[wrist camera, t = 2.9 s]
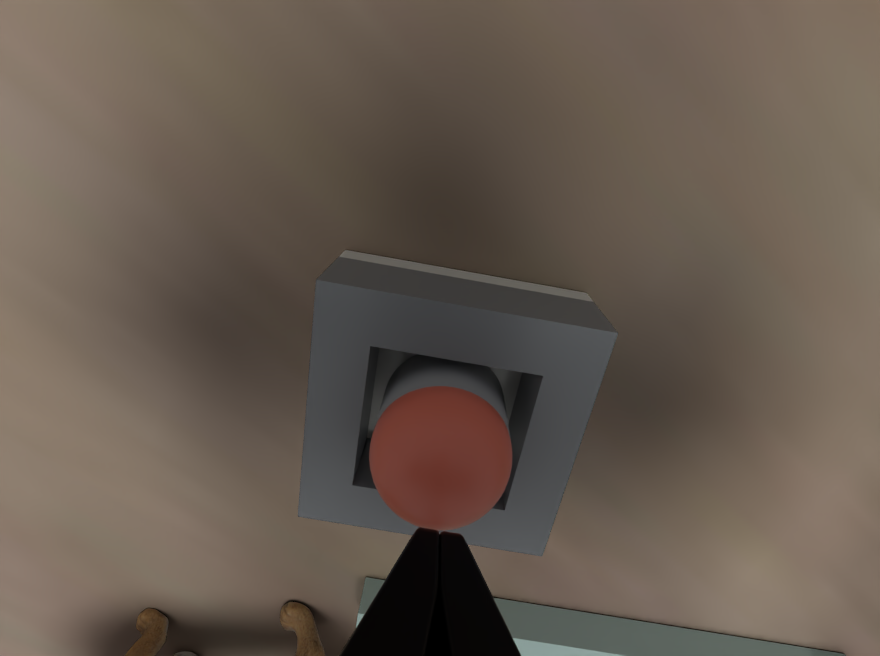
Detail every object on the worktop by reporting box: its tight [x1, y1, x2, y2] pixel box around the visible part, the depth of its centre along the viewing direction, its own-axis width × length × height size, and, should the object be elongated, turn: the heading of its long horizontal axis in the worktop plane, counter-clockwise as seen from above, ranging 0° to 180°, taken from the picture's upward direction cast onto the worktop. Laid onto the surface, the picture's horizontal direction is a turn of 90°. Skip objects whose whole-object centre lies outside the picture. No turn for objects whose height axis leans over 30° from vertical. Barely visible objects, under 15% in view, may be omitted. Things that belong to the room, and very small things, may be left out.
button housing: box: [298, 250, 618, 556], centre depth 14 cm, size 7×7×3 cm
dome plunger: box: [369, 354, 513, 530], centre depth 12 cm, size 3×3×4 cm
